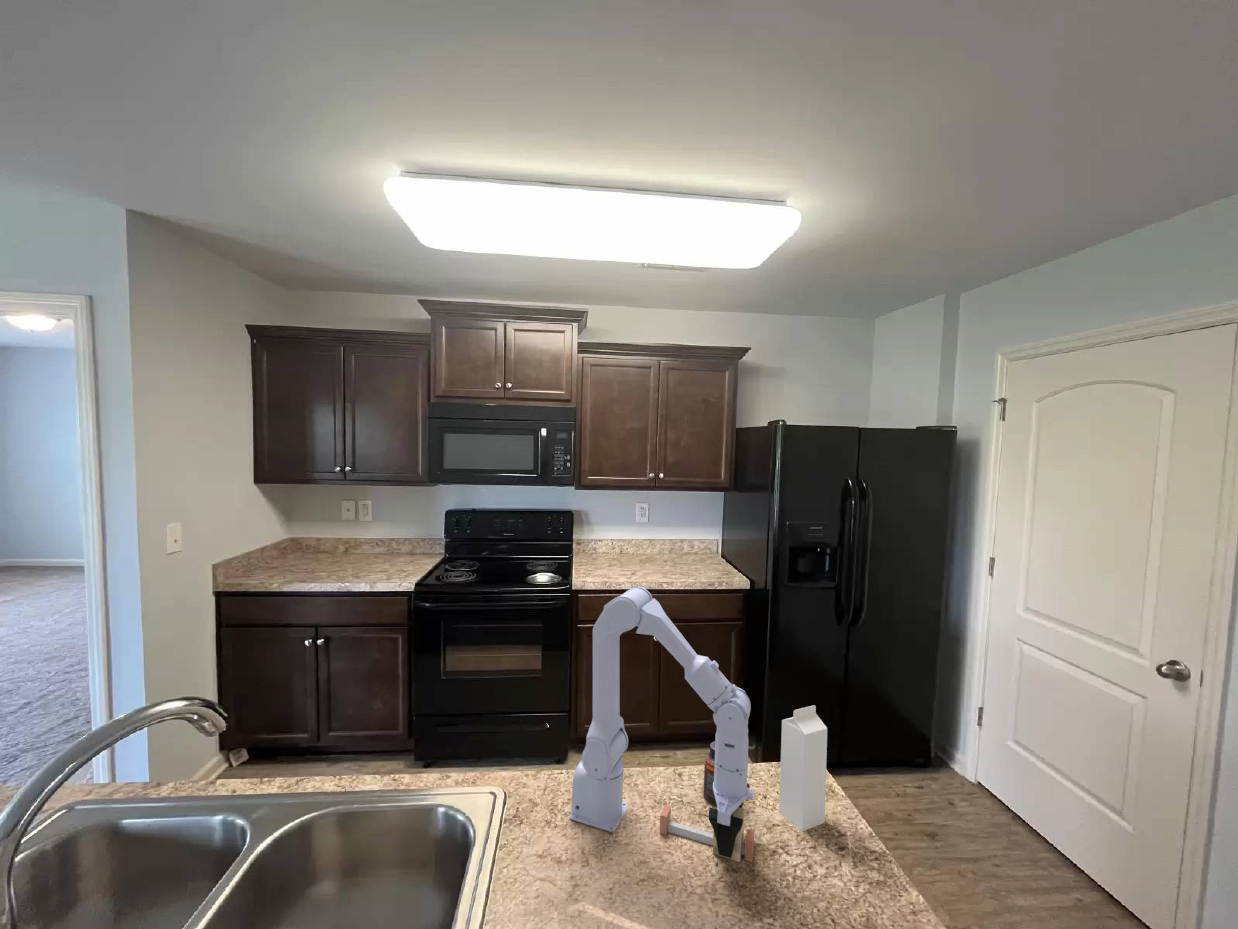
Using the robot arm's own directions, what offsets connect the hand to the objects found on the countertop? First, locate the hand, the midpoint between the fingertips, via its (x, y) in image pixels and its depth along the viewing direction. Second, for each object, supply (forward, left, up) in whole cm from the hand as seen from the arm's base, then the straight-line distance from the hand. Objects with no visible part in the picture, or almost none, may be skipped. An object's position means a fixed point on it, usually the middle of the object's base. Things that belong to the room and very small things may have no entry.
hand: (728, 839), depth 87 cm
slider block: (0, 0, -2) cm, 2 cm away
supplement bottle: (-4, +13, -3) cm, 14 cm away
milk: (+12, +14, -3) cm, 19 cm away
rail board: (-4, 0, -2) cm, 5 cm away
